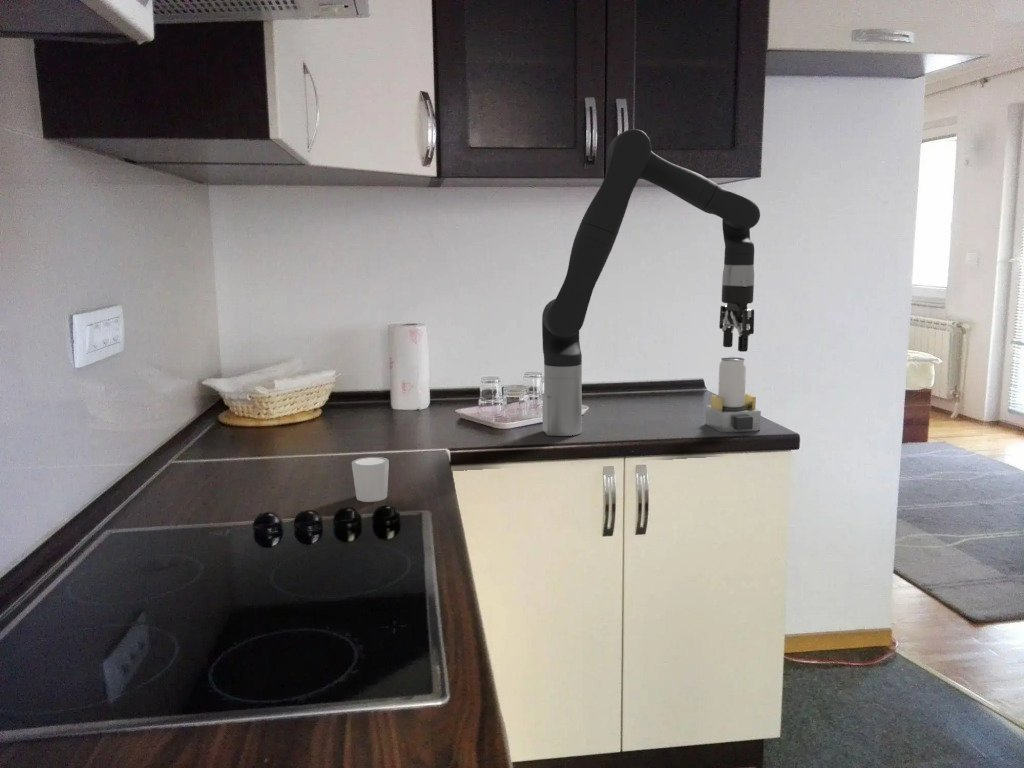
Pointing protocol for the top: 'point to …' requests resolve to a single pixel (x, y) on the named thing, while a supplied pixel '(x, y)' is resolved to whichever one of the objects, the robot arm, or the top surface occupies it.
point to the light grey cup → (370, 478)
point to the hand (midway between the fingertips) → (735, 349)
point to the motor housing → (733, 416)
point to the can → (732, 382)
